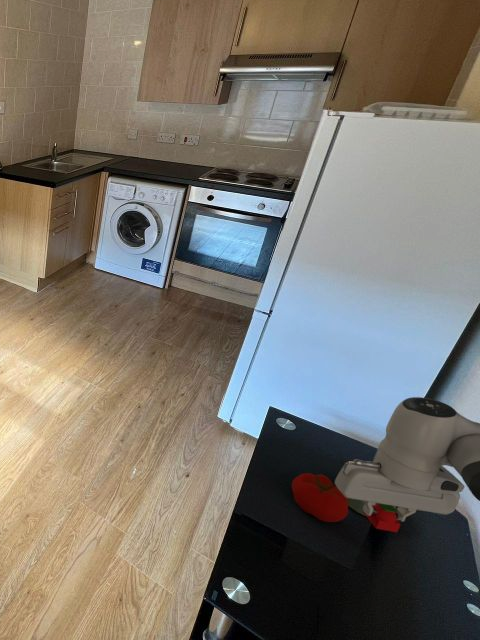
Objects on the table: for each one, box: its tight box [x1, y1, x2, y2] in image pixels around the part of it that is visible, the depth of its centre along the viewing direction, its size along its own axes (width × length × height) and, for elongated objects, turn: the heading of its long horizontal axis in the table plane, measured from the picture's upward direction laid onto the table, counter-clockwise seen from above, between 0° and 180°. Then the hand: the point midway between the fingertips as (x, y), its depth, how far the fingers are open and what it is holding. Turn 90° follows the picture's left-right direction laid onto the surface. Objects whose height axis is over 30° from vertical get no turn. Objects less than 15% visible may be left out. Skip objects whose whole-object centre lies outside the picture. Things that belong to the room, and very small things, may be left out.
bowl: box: [347, 498, 397, 517], centre depth 112 cm, size 11×11×4 cm
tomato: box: [291, 472, 349, 523], centre depth 109 cm, size 11×12×9 cm
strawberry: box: [364, 503, 402, 533], centre depth 90 cm, size 4×4×5 cm
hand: (382, 516), depth 91 cm, fingers closed on strawberry, 4 cm apart
